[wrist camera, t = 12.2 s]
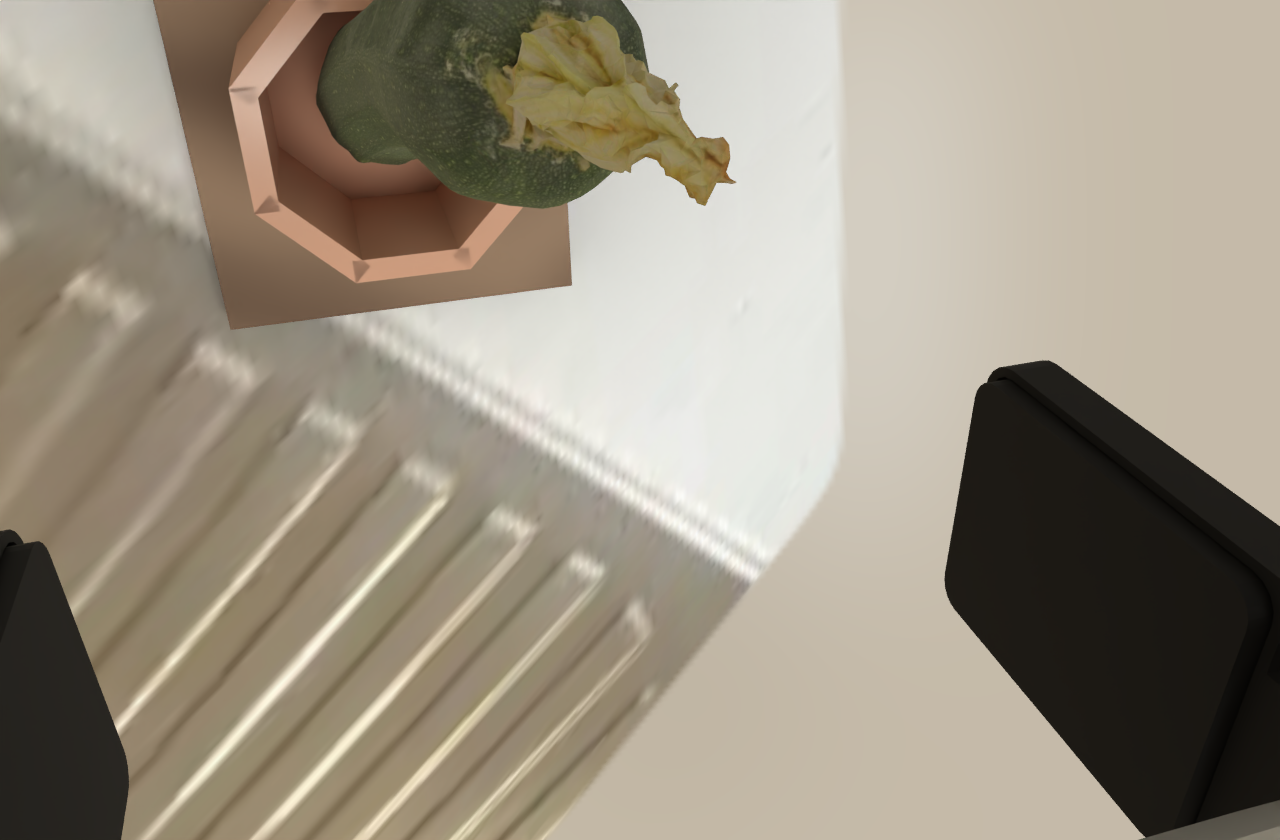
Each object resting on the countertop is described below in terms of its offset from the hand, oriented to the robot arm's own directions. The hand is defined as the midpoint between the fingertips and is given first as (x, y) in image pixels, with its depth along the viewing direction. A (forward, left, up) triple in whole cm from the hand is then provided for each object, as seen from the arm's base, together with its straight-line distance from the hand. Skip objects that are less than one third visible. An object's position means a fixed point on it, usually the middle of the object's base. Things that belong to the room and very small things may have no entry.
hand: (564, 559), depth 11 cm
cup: (0, 0, -24) cm, 24 cm away
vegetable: (0, 0, -23) cm, 23 cm away
